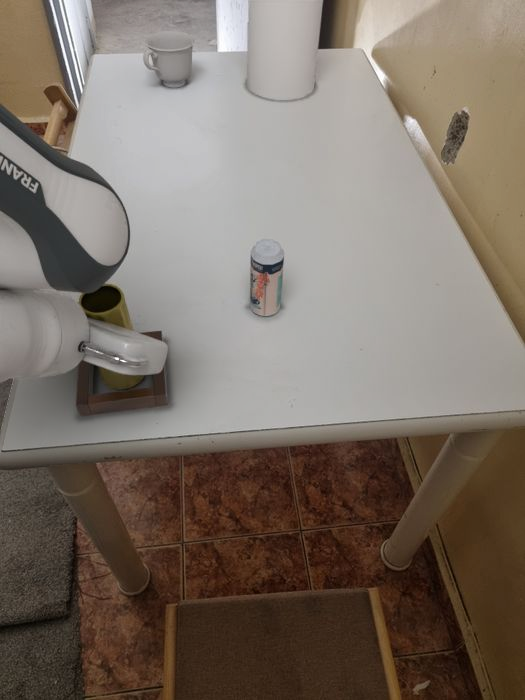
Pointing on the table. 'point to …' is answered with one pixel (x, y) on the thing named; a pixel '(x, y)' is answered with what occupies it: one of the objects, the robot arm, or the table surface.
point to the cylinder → (282, 47)
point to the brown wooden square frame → (122, 399)
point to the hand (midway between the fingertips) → (115, 332)
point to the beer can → (266, 277)
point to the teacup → (170, 56)
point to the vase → (112, 310)
